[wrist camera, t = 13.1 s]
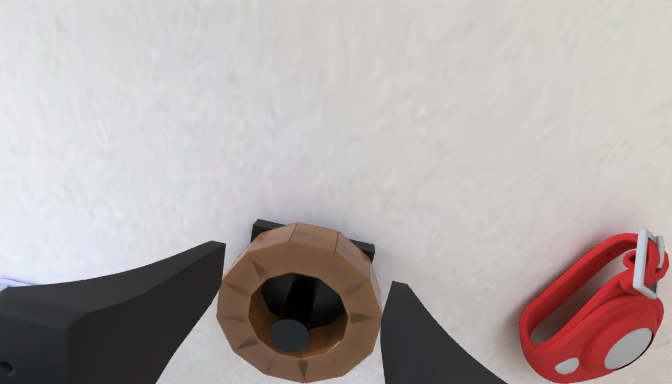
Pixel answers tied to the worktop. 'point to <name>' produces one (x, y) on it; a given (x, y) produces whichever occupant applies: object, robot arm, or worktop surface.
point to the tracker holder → (600, 312)
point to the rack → (300, 300)
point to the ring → (325, 342)
